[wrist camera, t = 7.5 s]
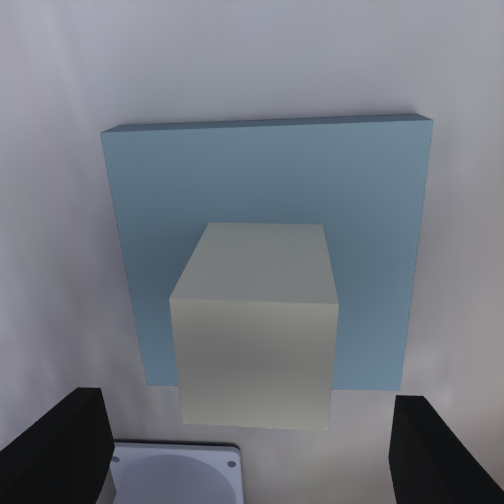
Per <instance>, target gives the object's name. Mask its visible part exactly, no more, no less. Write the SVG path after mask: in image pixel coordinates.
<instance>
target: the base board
mask: <svg viewBox="0 0 504 504" xmlns="http://www.w3.org/2000/svg"><path fill="white" fill-rule="evenodd" d="M432 127H433V120H432V119H429V118H427V117H424V116H421V115H419V114H403V115H378V116H352V117H327V118H301V119H276V120H250V121H225V122H199V123H174V124H148V125H123V126H117V127H115V128H112V129H109V130H106V131H103V132H100V135H101V141H102V146H103V151H104V157H105V162H106V167H107V173H108V178H109V183H110V188H111V194H112V199H113V204H114V210H115V215H116V220H117V226H118V231H119V236H120V241H121V247H122V252H123V257H124V263H125V268H126V273H127V279H128V284H129V289H130V295H131V300H132V305H133V310H134V316H135V321H136V326H137V332H138V337H139V342H140V348H141V353H142V358H143V363H144V369H145V374H146V379H147V385H172V386H178V377H177V367H176V358H175V349H174V339H173V330H172V321H171V311H170V302H169V298H170V296H171V294H172V292H173V290H174V288H175V286H176V284H177V283H178V281H179V279H180V277H181V275H182V273H183V271H184V269H185V267H186V265H187V263H188V262H189V260H190V258H191V256H192V254H193V252H194V250H195V248H196V246H197V244H198V242H199V240H200V239H201V237H202V235H203V233H204V231H205V229H206V227H207V225H208V223H209V222H219V223H275V224H323V228H324V233H325V238H326V243H327V248H328V253H329V258H330V263H331V268H332V273H333V277H334V282H335V287H336V292H337V297H338V302H339V309H338V321H337V333H336V344H335V356H334V368H333V380H332V389H347V390H391V391H400V386H401V378H402V370H403V362H404V354H405V346H406V338H407V330H408V321H409V313H410V305H411V297H412V289H413V281H414V273H415V265H416V257H417V248H418V240H419V232H420V224H421V216H422V208H423V200H424V192H425V184H426V175H427V167H428V159H429V151H430V143H431V135H432Z"/></svg>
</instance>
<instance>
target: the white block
mask: <svg viewBox="0 0 504 504" xmlns="http://www.w3.org/2000/svg"><path fill="white" fill-rule="evenodd" d="M169 302H170V311H171V321H172V330H173V339H174V349H175V358H176V367H177V377H178V386H179V395H180V405H181V414H182V424H199V425H216V426H233V427H250V428H267V429H285V430H302V431H319V432H328V427H329V416H330V404H331V392H332V380H333V368H334V356H335V344H336V333H337V321H338V309H339V302H338V297H337V292H336V287H335V282H334V277H333V273H332V268H331V263H330V258H329V253H328V248H327V243H326V238H325V233H324V228H323V224H275V223H219V222H209V223H208V225H207V227H206V229H205V231H204V233H203V235H202V237H201V239H200V240H199V242H198V244H197V246H196V248H195V250H194V252H193V254H192V256H191V258H190V260H189V262H188V263H187V265H186V267H185V269H184V271H183V273H182V275H181V277H180V279H179V281H178V283H177V284H176V286H175V288H174V290H173V292H172V294H171V296H170V298H169Z"/></svg>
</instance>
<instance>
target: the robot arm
mask: <svg viewBox="0 0 504 504" xmlns="http://www.w3.org/2000/svg"><path fill="white" fill-rule="evenodd" d="M388 459H389V464H390V470H391V476H392V482H393V487H394V492H395V498H396V503H397V504H504V491H503V490H502V489H501V488H500V487H499V485H498V484H497V483H496V482H495V481H494V480H493V479H492V478H491V476H490V475H489V474H488V473H487V472H486V471H485V470H484V468H483V467H482V466H481V465H480V464H479V463H478V462H477V461H476V459H475V458H474V457H473V456H472V455H471V454H470V452H469V451H468V450H467V449H466V448H465V447H464V445H463V444H462V443H461V442H460V440H459V439H458V438H457V437H456V436H455V434H454V433H453V432H452V431H451V430H450V428H449V427H448V426H447V425H446V423H445V422H444V421H443V420H442V418H441V417H440V416H439V415H438V413H437V412H436V411H435V409H434V408H433V407H432V406H431V404H430V403H429V402H428V401H427V399H426V398H425V397H424V396H406V395H396V399H395V407H394V416H393V424H392V432H391V441H390V449H389V457H388ZM232 461H234V462H232ZM109 466H110V470H111V474H112V478H113V481H114V485H115V489H116V493H117V494H116V496H115V499H114V501H113V504H244V492H243V480H242V467H241V455H240V451H239V450H238V449H237V448H235V447H227V446H200V445H172V444H145V443H118V442H114V440H113V436H112V432H111V428H110V424H109V420H108V416H107V412H106V408H105V404H104V399H103V395H102V391H101V388H81V387H78V388H76V389H75V390H74V391H72V392H71V393H70V394H69V395H67V396H66V397H65V398H64V399H63V400H61V401H60V402H59V403H58V404H57V405H55V406H54V407H53V408H52V409H51V410H49V411H48V412H47V413H46V414H45V415H44V416H42V417H41V418H40V419H39V420H38V421H36V422H35V423H34V424H33V425H32V426H31V427H29V428H28V429H27V430H26V431H25V432H23V433H22V434H21V435H20V436H18V437H17V438H16V439H15V440H14V441H12V442H11V443H10V444H9V445H8V446H6V447H5V448H4V449H3V450H2V451H0V504H95V503H96V501H97V499H98V497H99V494H100V492H101V490H102V487H103V484H104V481H105V478H106V475H107V472H108V469H109Z"/></svg>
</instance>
